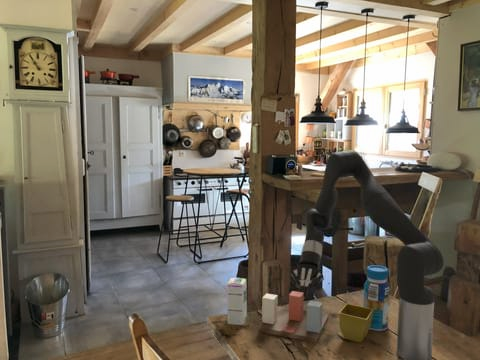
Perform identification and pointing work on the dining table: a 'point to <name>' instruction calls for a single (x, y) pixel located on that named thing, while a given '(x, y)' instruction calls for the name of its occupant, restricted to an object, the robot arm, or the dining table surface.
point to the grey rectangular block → (314, 316)
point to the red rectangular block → (296, 305)
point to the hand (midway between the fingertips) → (302, 297)
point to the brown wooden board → (292, 326)
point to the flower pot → (355, 321)
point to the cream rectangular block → (269, 308)
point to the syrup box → (236, 301)
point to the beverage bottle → (377, 296)
